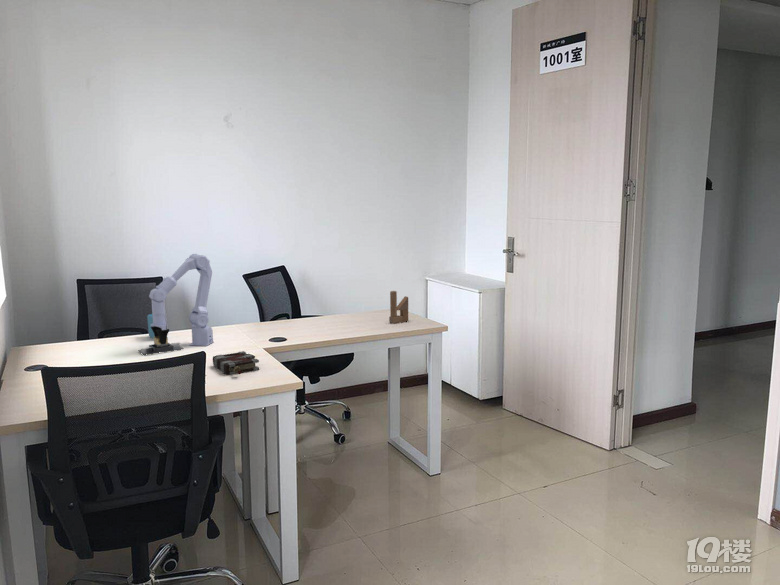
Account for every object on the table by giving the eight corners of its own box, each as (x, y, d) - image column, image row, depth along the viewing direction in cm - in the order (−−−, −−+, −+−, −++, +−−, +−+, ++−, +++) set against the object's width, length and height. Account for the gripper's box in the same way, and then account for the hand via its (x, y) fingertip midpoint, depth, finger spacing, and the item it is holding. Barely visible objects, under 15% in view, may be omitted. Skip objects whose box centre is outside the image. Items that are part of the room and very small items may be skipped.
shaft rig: (177, 345, 313) (177, 340, 312) (183, 349, 305) (183, 344, 305) (138, 351, 302) (137, 346, 302) (143, 355, 295) (142, 350, 294)
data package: (166, 339, 326) (164, 316, 324) (157, 340, 323) (155, 317, 322) (157, 335, 335) (155, 313, 333) (148, 336, 333) (147, 314, 331)
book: (245, 361, 284) (244, 350, 284) (266, 374, 264) (265, 362, 263) (212, 366, 277) (211, 355, 276) (231, 380, 256) (230, 368, 255)
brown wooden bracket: (408, 321, 363) (408, 290, 360) (392, 323, 357) (392, 292, 355) (405, 320, 366) (404, 289, 363) (389, 322, 361) (388, 291, 358)
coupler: (168, 349, 303) (167, 337, 302) (157, 351, 300) (156, 338, 299) (165, 347, 307) (164, 335, 306) (154, 348, 304) (153, 336, 303)
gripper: (145, 312, 305) (148, 340, 307) (154, 317, 293) (156, 346, 295) (161, 311, 309) (163, 338, 311) (170, 315, 297) (172, 344, 299)
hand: (160, 342), depth 303 cm, fingers open, 7 cm apart
